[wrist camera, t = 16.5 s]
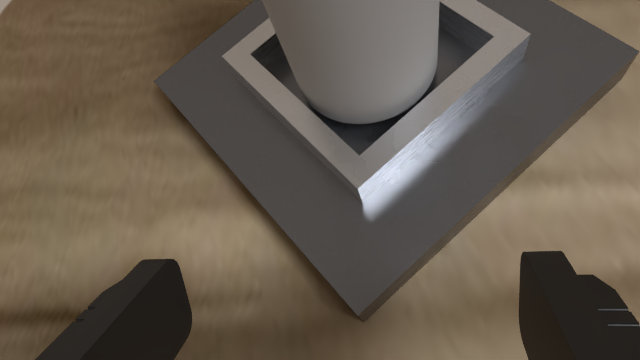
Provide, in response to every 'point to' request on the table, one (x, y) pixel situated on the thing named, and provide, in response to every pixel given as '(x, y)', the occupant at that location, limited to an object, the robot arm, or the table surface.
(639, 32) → the table surface
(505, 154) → the mounting plate
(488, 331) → the table surface
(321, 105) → the beverage can
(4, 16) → the table surface
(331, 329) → the table surface
